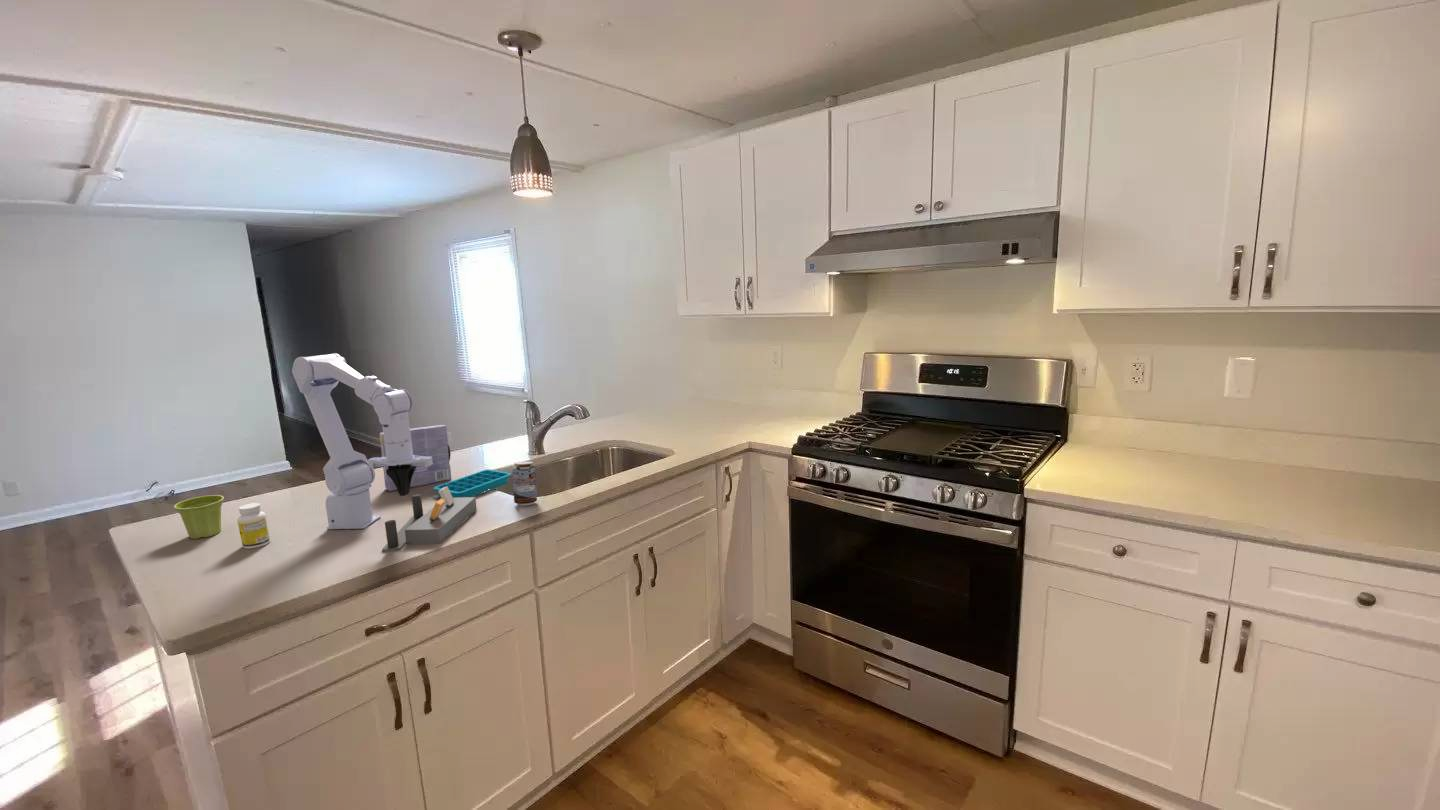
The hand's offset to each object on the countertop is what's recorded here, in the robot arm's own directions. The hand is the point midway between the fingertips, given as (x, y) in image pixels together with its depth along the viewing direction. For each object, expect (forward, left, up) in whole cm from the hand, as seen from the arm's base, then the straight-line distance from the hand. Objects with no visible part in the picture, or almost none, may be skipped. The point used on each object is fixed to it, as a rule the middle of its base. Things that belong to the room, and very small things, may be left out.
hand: (404, 494), depth 146 cm
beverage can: (+23, +19, -10) cm, 32 cm away
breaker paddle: (+7, 0, -6) cm, 9 cm away
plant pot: (-52, +2, -10) cm, 53 cm away
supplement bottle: (-34, -5, -10) cm, 36 cm away
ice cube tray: (+3, +33, -11) cm, 35 cm away
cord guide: (-1, 0, -10) cm, 10 cm away
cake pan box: (-16, +39, -10) cm, 43 cm away
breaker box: (+7, +4, -10) cm, 13 cm away
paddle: (+7, +9, -6) cm, 13 cm away
